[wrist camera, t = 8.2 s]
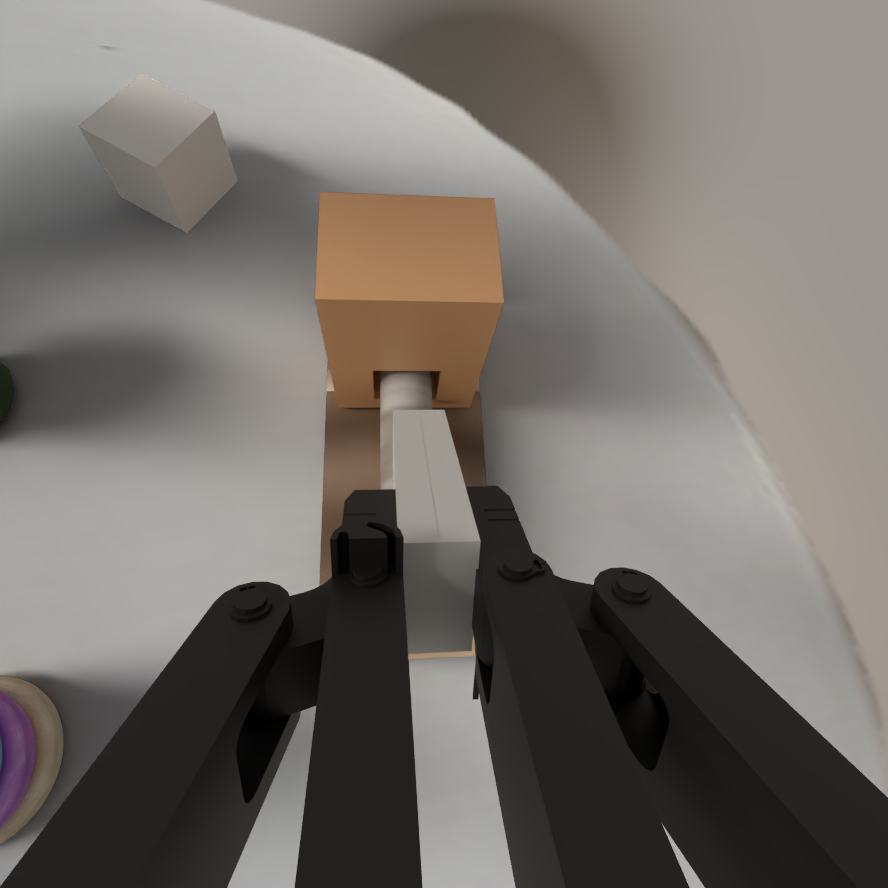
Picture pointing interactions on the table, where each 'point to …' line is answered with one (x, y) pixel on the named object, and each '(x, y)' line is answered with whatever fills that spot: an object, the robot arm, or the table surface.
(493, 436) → the table surface
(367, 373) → the wooden block
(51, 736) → the stacking toy
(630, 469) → the table surface
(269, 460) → the table surface
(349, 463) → the pipe stand
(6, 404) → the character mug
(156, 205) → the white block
